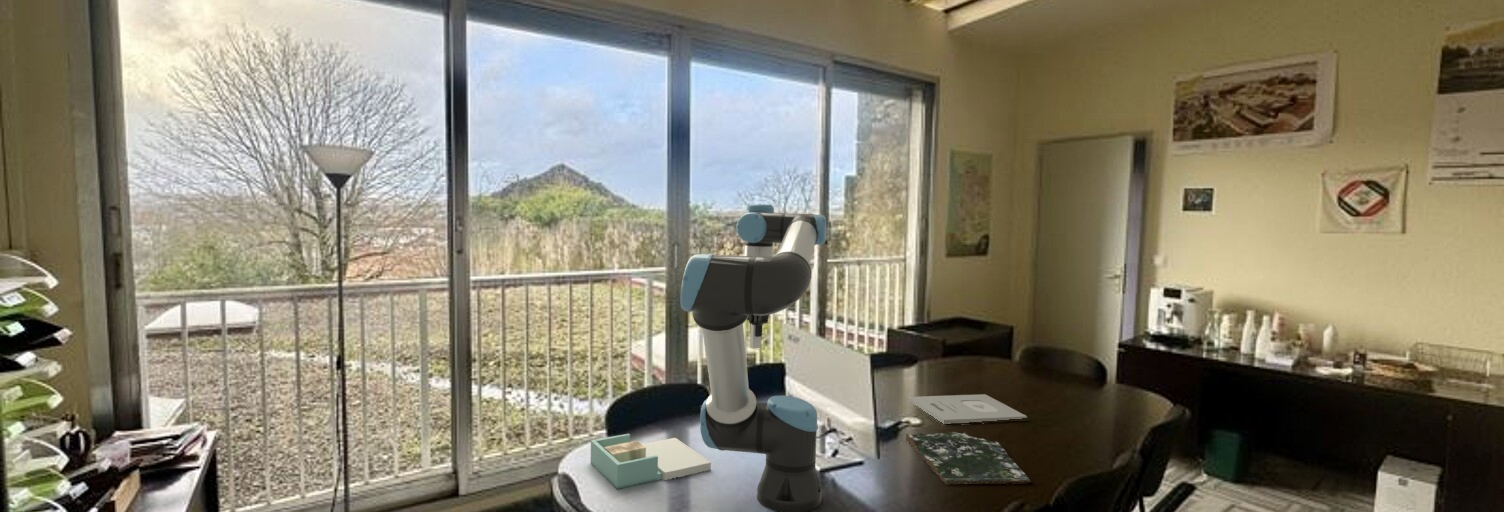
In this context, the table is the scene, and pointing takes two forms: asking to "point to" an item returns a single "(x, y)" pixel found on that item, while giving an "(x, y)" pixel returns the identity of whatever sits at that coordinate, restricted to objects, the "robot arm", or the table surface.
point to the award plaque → (965, 408)
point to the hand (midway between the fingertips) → (755, 347)
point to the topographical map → (966, 458)
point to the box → (622, 464)
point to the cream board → (676, 458)
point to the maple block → (627, 451)
